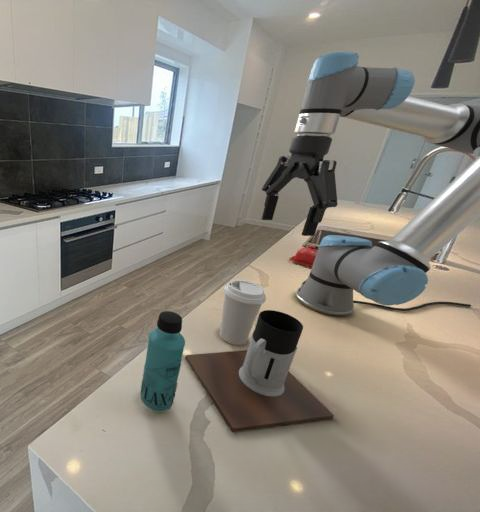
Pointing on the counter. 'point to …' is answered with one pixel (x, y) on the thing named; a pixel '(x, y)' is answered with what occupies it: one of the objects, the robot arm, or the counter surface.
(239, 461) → the counter surface
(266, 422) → the walnut board
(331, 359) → the counter surface
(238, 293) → the coffee cup
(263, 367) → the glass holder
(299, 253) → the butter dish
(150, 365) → the beverage bottle
